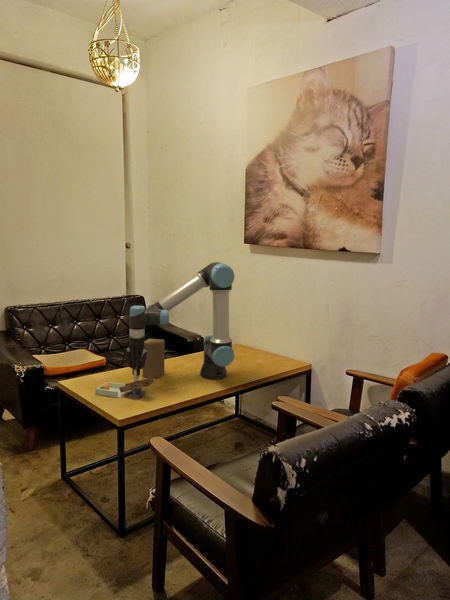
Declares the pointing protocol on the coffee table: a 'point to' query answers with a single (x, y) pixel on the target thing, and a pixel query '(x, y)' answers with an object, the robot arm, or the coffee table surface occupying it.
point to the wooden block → (154, 358)
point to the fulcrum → (137, 394)
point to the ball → (106, 386)
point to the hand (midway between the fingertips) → (136, 381)
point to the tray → (111, 390)
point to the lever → (137, 384)
